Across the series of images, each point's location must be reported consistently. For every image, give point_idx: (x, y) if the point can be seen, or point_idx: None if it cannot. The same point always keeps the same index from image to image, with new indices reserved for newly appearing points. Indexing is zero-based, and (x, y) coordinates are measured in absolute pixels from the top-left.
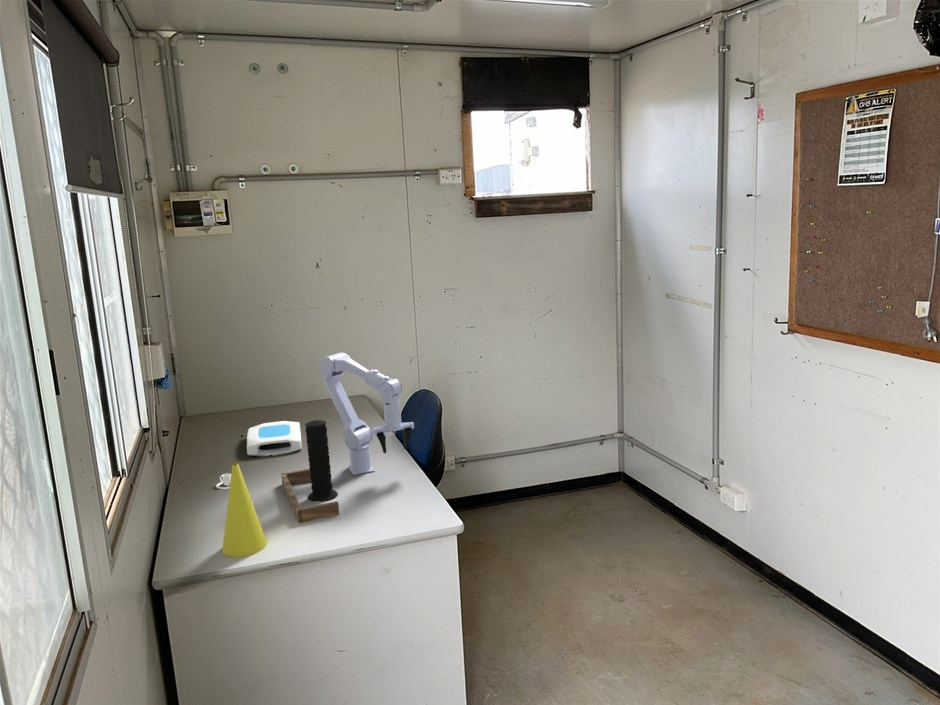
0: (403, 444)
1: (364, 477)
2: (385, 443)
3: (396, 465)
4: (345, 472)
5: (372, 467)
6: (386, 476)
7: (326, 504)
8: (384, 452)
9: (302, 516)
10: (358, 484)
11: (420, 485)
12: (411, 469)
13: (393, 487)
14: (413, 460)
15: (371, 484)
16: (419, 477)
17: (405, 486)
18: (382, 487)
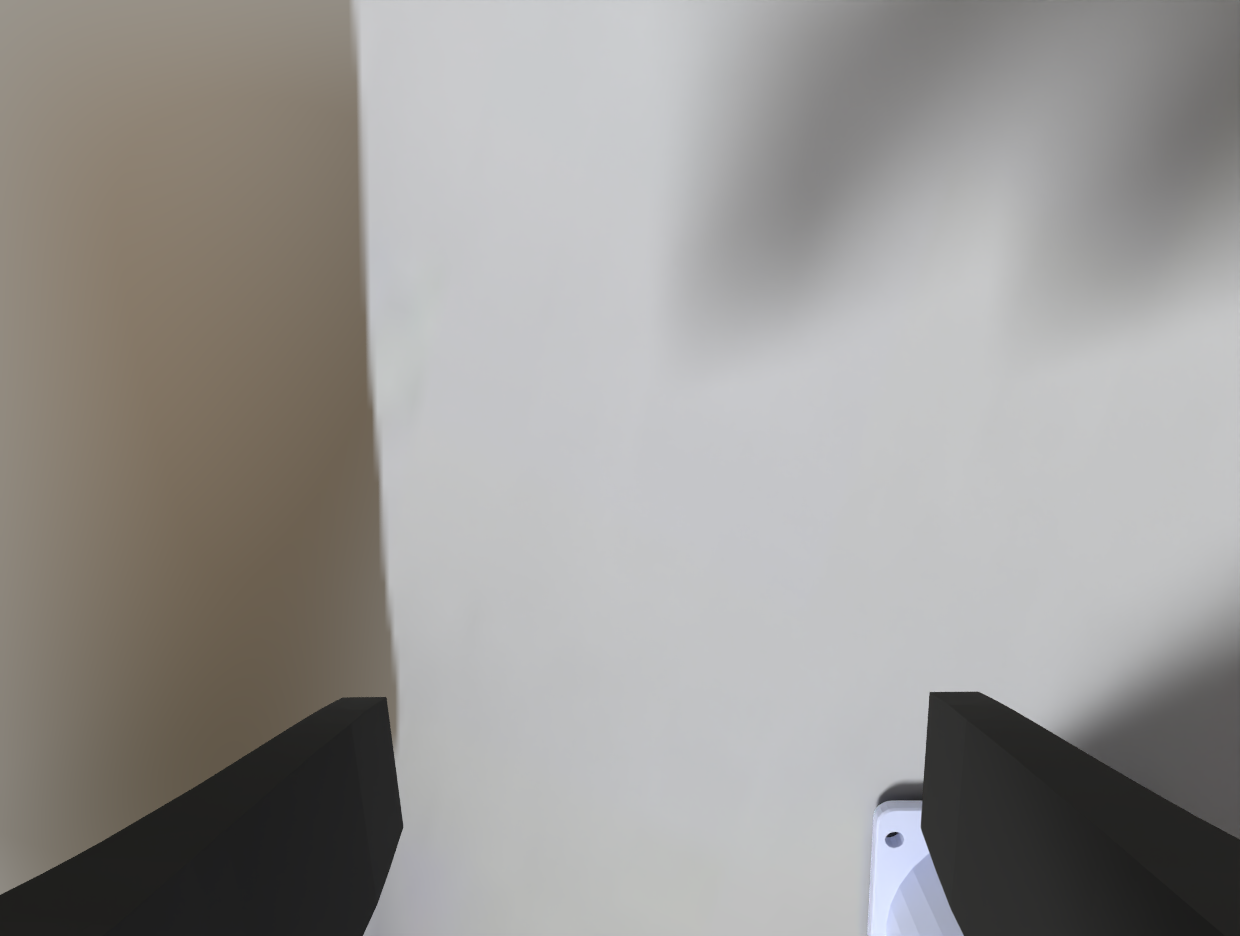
0: (363, 919)
1: (1056, 671)
2: (1178, 893)
3: (569, 863)
4: None
5: (874, 900)
6: (786, 575)
7: None
8: (997, 702)
9: None
10: (1224, 467)
11: (434, 3)
12: (426, 660)
13: (822, 113)
14: None
15: (1066, 383)
16: (385, 334)
17: (650, 69)
18: (967, 191)
